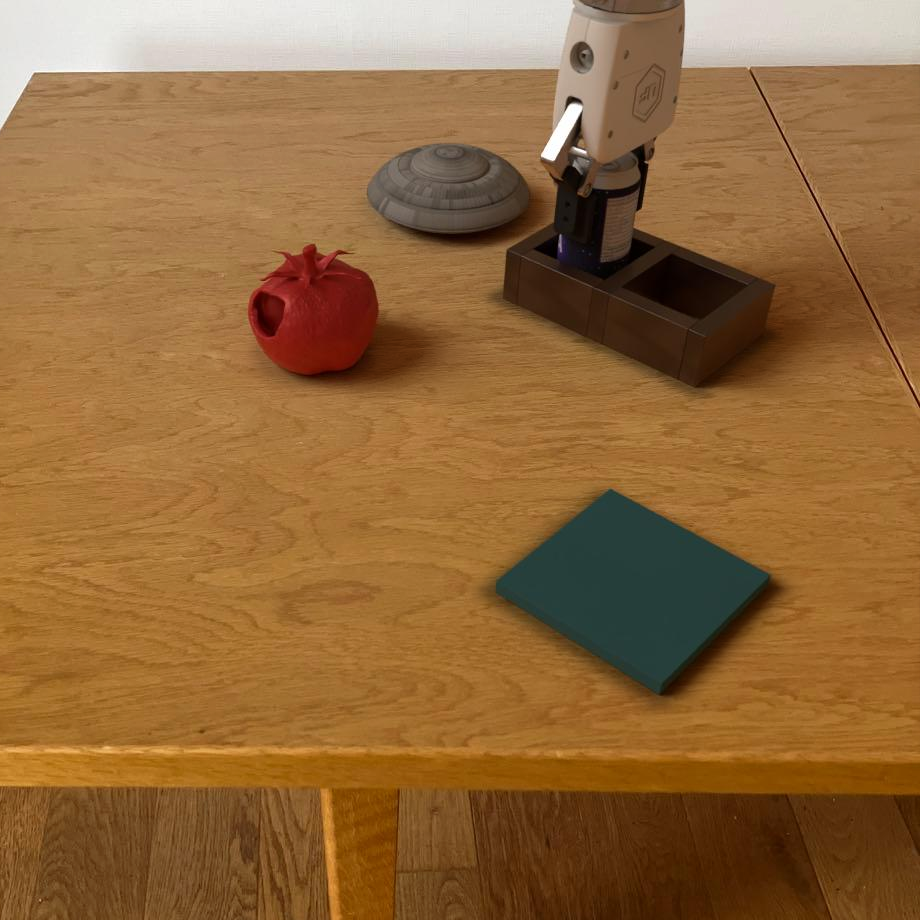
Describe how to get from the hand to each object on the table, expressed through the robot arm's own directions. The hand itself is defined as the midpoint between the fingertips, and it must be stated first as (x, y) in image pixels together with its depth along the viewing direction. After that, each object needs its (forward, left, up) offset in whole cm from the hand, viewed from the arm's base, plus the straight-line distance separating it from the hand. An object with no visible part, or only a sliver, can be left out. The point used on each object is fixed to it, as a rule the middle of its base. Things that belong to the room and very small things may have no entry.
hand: (597, 219), depth 94 cm
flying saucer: (+19, -4, -7) cm, 20 cm away
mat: (-22, +26, -7) cm, 35 cm away
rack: (-4, 0, -7) cm, 8 cm away
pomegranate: (+11, +21, -7) cm, 25 cm away
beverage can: (0, 0, -7) cm, 7 cm away
